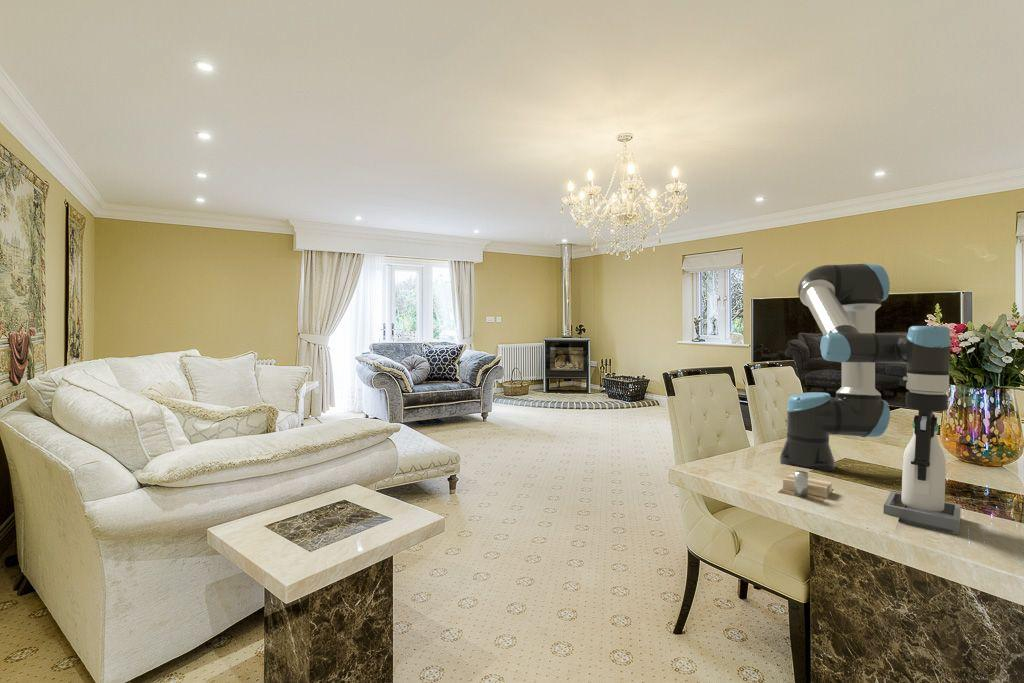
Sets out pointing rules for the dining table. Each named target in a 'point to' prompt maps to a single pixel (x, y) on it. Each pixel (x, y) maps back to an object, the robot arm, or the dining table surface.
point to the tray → (925, 515)
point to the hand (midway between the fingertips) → (922, 489)
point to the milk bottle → (937, 477)
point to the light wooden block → (810, 486)
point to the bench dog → (801, 484)
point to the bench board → (810, 497)
